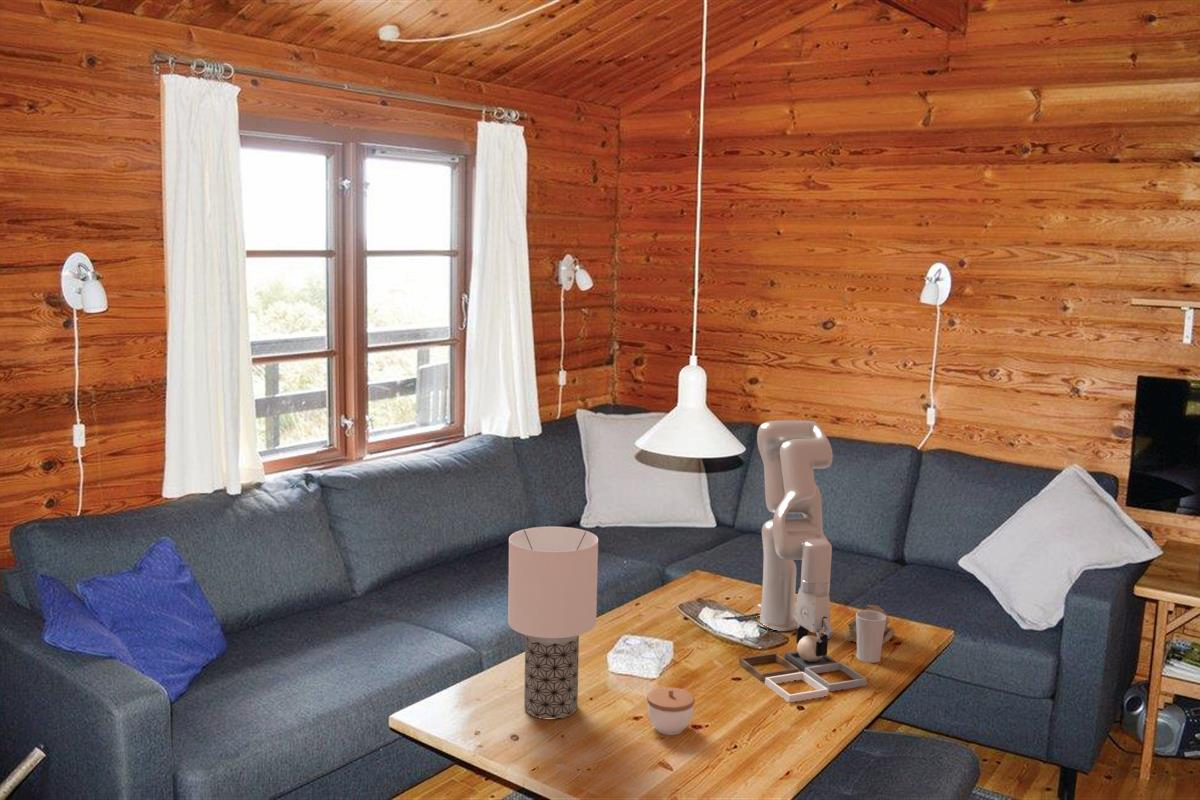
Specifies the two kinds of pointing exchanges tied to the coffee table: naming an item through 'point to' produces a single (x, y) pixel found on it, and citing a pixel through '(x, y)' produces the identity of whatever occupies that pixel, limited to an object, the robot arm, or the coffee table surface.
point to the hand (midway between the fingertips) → (811, 648)
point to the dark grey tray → (802, 664)
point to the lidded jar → (670, 709)
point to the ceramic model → (852, 632)
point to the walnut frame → (765, 658)
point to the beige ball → (808, 648)
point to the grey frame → (857, 682)
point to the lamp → (552, 611)
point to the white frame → (817, 693)
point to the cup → (869, 635)
